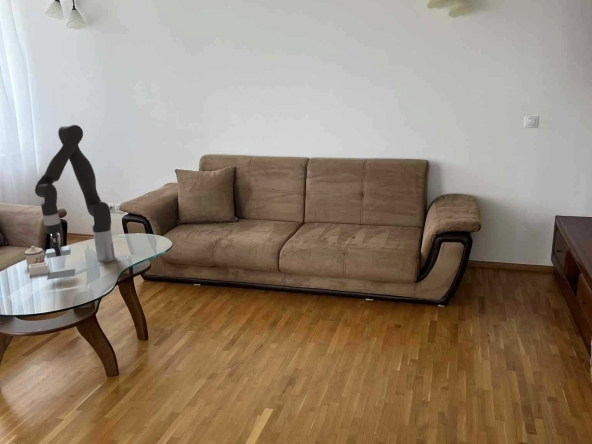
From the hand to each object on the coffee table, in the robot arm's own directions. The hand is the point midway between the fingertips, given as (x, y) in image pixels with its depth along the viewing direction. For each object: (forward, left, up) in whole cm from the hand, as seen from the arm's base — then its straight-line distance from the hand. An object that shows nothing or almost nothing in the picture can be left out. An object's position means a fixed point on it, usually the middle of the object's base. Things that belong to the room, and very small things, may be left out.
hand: (58, 253), depth 281 cm
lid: (0, 0, 0) cm, 0 cm away
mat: (0, 0, -12) cm, 12 cm away
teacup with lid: (+13, -22, -12) cm, 29 cm away
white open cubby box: (+11, -8, -12) cm, 18 cm away
